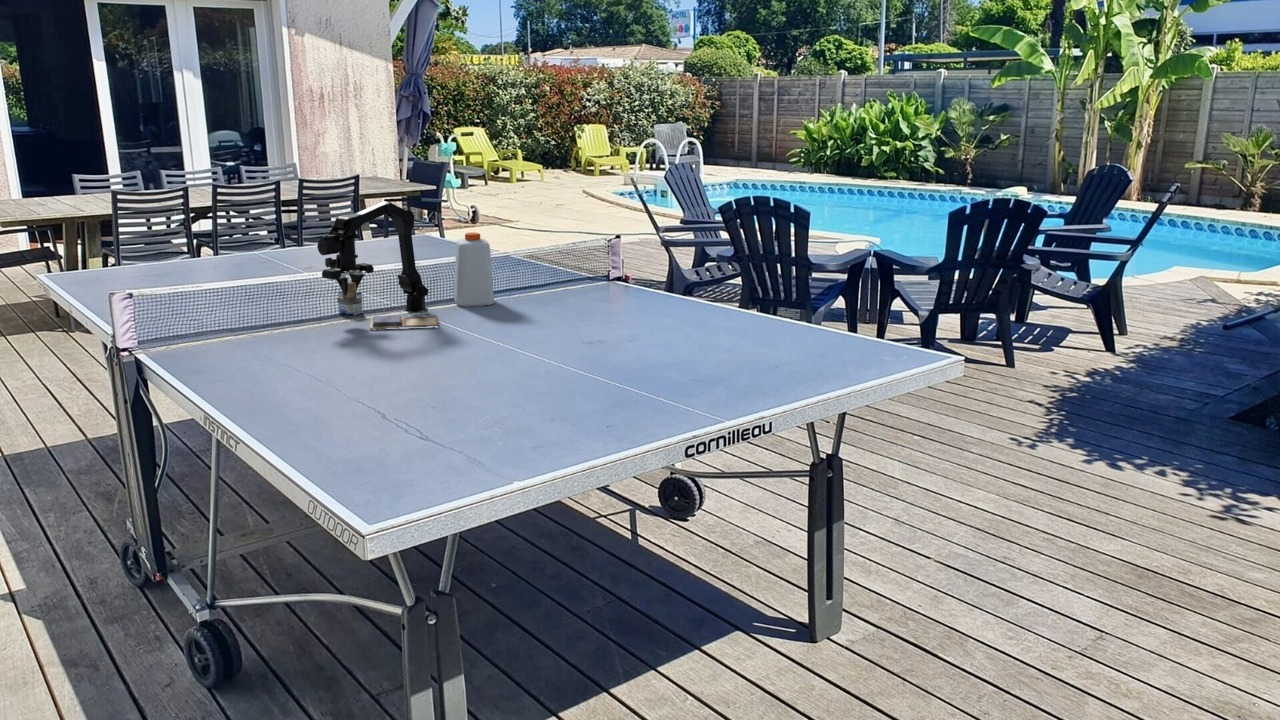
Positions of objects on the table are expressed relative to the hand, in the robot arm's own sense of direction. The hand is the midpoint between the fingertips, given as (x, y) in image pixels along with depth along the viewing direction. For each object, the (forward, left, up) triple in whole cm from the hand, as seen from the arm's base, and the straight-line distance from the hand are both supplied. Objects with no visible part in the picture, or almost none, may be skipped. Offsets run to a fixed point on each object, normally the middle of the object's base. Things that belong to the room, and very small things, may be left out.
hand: (349, 294), depth 364 cm
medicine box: (-10, -13, -11) cm, 20 cm away
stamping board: (-12, +15, -11) cm, 22 cm away
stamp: (0, 0, -3) cm, 3 cm away
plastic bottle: (-54, +8, -11) cm, 56 cm away
